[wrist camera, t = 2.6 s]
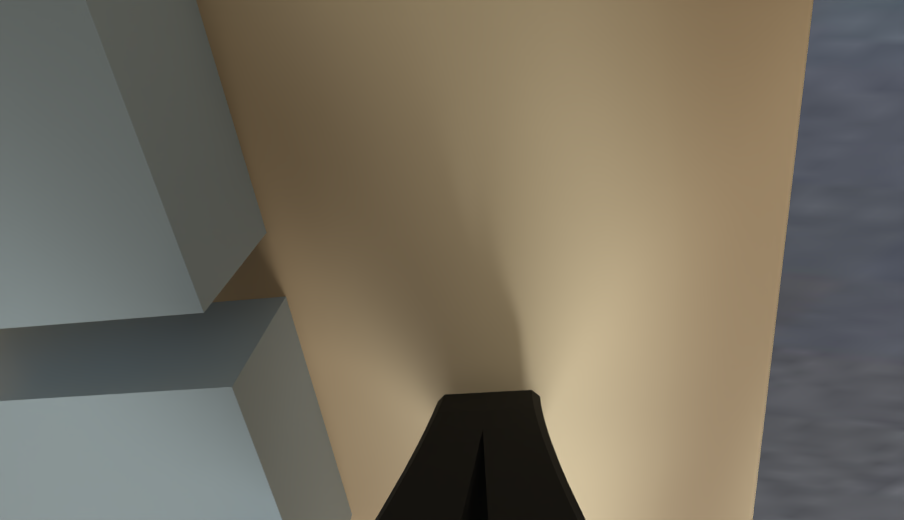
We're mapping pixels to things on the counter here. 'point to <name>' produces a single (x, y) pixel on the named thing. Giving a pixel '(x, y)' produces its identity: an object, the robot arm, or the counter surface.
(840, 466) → the counter surface
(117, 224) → the slate tile
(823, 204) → the counter surface
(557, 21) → the maple bench
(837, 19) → the counter surface
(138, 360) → the slate tile
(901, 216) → the counter surface
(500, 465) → the robot arm
